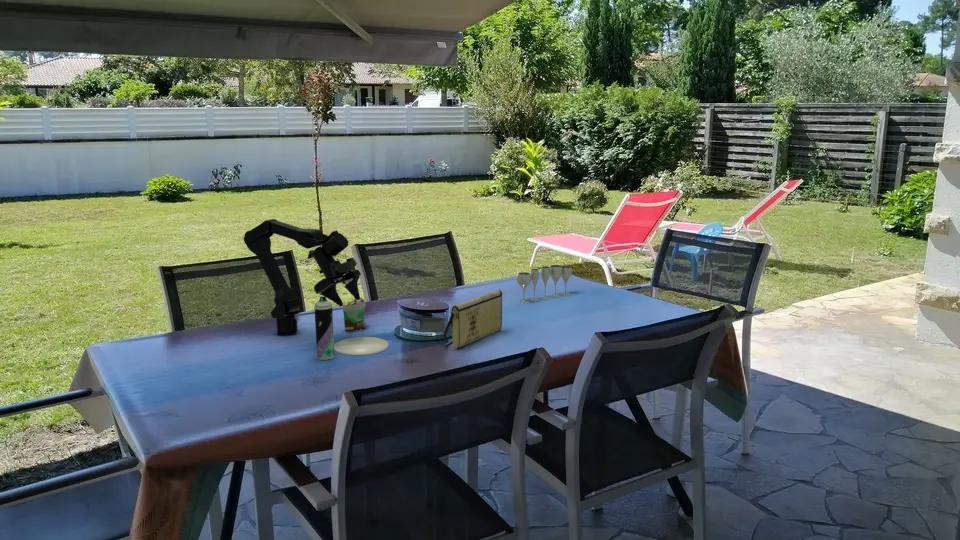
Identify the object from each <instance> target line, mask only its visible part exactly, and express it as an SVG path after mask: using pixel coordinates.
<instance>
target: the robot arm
mask: <svg viewBox="0 0 960 540" xmlns="http://www.w3.org/2000/svg"><path fill="white" fill-rule="evenodd" d="M274 235H279V236H281V237H284V238H287V239H290V240H293V241H295V242H296V243H297V244H298V245H299V246H301V247H303V249H304V248H305V249H310V250H308V255H307V259H308V260H311V259H314V260H315V262H316V264H317V266H318V268H319V269H320V270H318V272H319V274H320V275H321V274H323V275H324V276H323V277H325V278H322V279H320V280H319V281H318V282H317V283H316V284H314V286H313V290H314V292H315V294H316V295H318V294H319V295H320V296H322V297H326V299H327V300H329V301H331V302H333V303H334V304H336V305H338V306H339V307H343V305H344V303H343V301H342V298H341V297H340V295H339V293H338V291H337V284H341V283H342V284H343V285H344V286H343V287H344V288H345V289H346V291H348V292H349V294H351V296H352V297H353V298H354V297H355V298H356V299H357V300H359V299H360V298H361V297H360V296H361V295H360V291H359V286H358V282H359V279H360V278H361V276H362V274H361V272H360V270H359V269H358V268H356V266H357V261H356V260H355V259H354V257H349V258H347V259H346V260H345V262H341V261H340V260H338V259H337V260H336V258H335V257H336V256H338V255H339V254H340V253H342V252H343V251H344V250H345V249H347V248H348V246H349V240H348V238H347V237H346V236H344V235H343V234H342V233H341V232H339V231H338V230H333V231H331V232H330V233H329V235H327V234H326V233H323V231H322V230H321V229H319V228H302V227H298V226H295V225H292V224H289V223H286V222H283V221H281V220H278V219H275V218H272V219H266V220H264V221H262V223H260V224H258V225H256V226H255V227H254V228H252V229H250V230H247V231H246V232H245V233H244V235H243V242H244V244H245V246H246V247H247V248H248V250H249V251H250V252H251V253H253V255H255V256H256V257H257V258H258V260H259V262H260V264H261V266H262V269H263V270H264V272H265V275H266V277H267V279H268V282H269V283H270V285H271V287H272V289H273V291H274V303H275V306H274V307H273V309H272V310H271V312H270V315H271V318H273V319H276V336H287V335H288V336H290V335H296V334H297V331H298V321H297V320H298V319H297V317H296V316H295V315H298V314H300V309H301V307H302V304H303V302H302V296H301V295H300V293H299V291H298V289H297V288H296V287H294V288H292V287H290V286H289V285H288V283H287V281H286V279H285V277H284V275H283V272H282V271H281V269H280V267H279V264H278V263H277V261H276V258H275V257H274V254H273V252H272V249H271V247H272V240H271V237H273V236H274ZM313 248H314V249H313Z"/></svg>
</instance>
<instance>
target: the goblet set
mask: <svg viewBox="0 0 960 540" xmlns="http://www.w3.org/2000/svg"><path fill="white" fill-rule="evenodd" d="M540 276H541V280H542V282H543V286H544V296H541V297H540V298H536V288H537V287H536V286H537V284H538V281H539V279H540ZM570 277H572V267H571V266H569V265H560V264H559V265H558V264H550V265H549V266H542V267H541V270H539V269H538V268H532V269H531V270H530V273H529V272H526V271H525V272H523V271H522V272H518V273H517V277H516V280H517V281H516V282H517V283H518V285H519V286H520V287H521V288H522V294H523V299H522V300H523V301H522V300H519V302H520V303H519V302H518V303H519V304H529V303H530V301H531V302H538V301H540V299H542V300H549V299H550V298H560V297H562V296H570V295H571V293H569V292H567V283H568V281H569V280H570ZM550 278H551V280H552V281H553V283H554V294H550V295H549V296H546V295H547V294H546V292H547V291H546V289H547V283H548V282H549V279H550ZM560 279H562V280H563V282H564V292H561V293H560V294H557V284H558V281H559V280H560ZM531 283H532V285H533V296H534V297H533V298H530V299H529V300H525V292H526V289H527V287H528V286H529V285H530V284H531Z"/></svg>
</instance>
